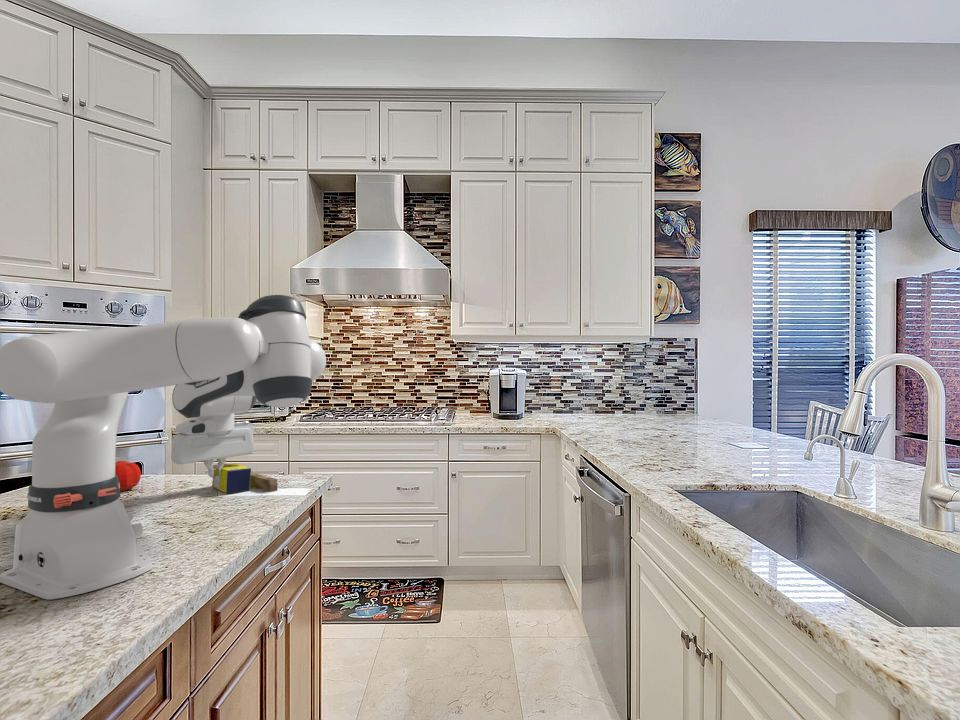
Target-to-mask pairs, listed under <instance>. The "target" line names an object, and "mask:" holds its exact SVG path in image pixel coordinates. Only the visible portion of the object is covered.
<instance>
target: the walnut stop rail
mask: <svg viewBox="0 0 960 720" xmlns="http://www.w3.org/2000/svg"><path fill="white" fill-rule="evenodd" d="M250 488H256V489H259V490H263V491H265V492H270V493H271V492H275V491H278V478H274V477H270V476H266V475H262V474H258V473H254V472H251V475H250Z"/></svg>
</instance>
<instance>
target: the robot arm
mask: <svg viewBox="0 0 960 720" xmlns="http://www.w3.org/2000/svg"><path fill="white" fill-rule="evenodd" d="M306 314H307V313H306V312H305V309H304V307H303V304H302V303H301V301H299V300H298V299H296V298H294V297H293V296H290V295H286V294H285V295H284V294H270V295H265V296H261V297H259V298H257V299H256V300H254V301H253V302H251V303H250V304H249V305H248V306H247V307H246V309H244V310H242V311H241V312H240V313H239V315H238V317H230V316H217V317H215V316H213V317H212V316H211V317H210V316H209V317H196V318H188V319H181V320H173V321H167V322H160V323H153V324H146V325H139V326H138V325H137V326H128V327H113V328H112V327H111V328H98V329H89V330H88V329H87V330H76V331H75V330H74V331H69V332H57V333H56V332H55V333H47V334H40V335H32V336H26V337H21V338H17V339H14V340H11V341H10V340H9V342H6V343H5V344H4V345H2V346H1V347H0V392H2V393H3V394H4V395H6V396H7V397H10V398H12V399H16V400H20V401H26V402H31V403H38V404H40V403H42V404H54V406H53V408H52V411H51V413H50V416H49V417H48V419H47V421H46V422H45V424H44V425H43V426H42V427H40V429H39V430H38V431H37V432H36V434H35V436H34V437H33V440H32V446H31V447H32V451H31V453H32V454H31V455H32V457H31V459H32V460H31V461H32V462H31V466H32V468H31V472H32V473H31V484H30V485H29V486H28V493H27V495H26V496H27V498H26V499H27V508H29V511H28V512H27V514H26V516H24V517H23V519H22V520H20V521H19V522H18V523H16V526H15V532H14V533H15V534H14V547H13V560H12V561H13V562H12V568H10V569H8V570H6V571H4V572H1V573H0V583H1V584H4V585H6V586H8V587H11V588H14V589H17V590H19V591H21V592H24V593H28V594H30V595H33V596H36V597H38V598H41V599H44V600H57V599H63V598H68V597H73V596H77V595H82V594H86V593H88V592H93V591H97V590H100V589H102V588H106V587H111V586H113V585H115V584H118V583H122V582H125V581H127V580H130V579H133V578H136V577H138V576H140V575H143V574H144V573H146V572H148V571H150V570H152V569H153V562H152V560H151V559H150V557H149V556H148V554H147V552H146V551H145V550H144V548H143V546H142V545H141V544H140V542H139V540H137V539H136V538H139V537H141V536H143V524H142V522H138V523H134V524H132V523H131V521H133V517H134V516H133V513H132V512H127V510H126V508H125V502H124V503H123V502H122V501H121V500H120V499H119V498H121V492H120V489H119V488H120V484H119V481H118V476H117V475H115V461H116V451H117V434H118V428H119V423H120V419H121V415H122V412H123V409H124V405H125V402H126V400H127V398H128V397H127V396H128V395H129V393H132V392H138V391H145V390H152V389H158V388H164V387H171V386H174V387H173V390H172V394H171V395H172V397H171V398H172V399H171V401H172V404H173V408H174V409H175V411H177V412H178V413H179V414H181V415H182V416H183V417H185V418H186V419H189V420H186V421H183V422H180V423H178V424H176V425H175V432H176V433H177V434H175V436H174V437H173V439H172V443H171V444H172V445H171V452H170V457H171V459H170V460H171V461H172V462H173V463H174V464H176V465H186V464H193V463H200V462H203V464H204V466H205V467H206V469H207V470H208V471H207V474H208V477H210V478H213V476H219V475H221V469H222V467H223V465H224V464H226V460H227V458H233V457H234V458H235V457H239V456H245V455H246V456H249V455H252V454H253V452H254V451H255V440H254V439H255V438H254V424H253V423H252V422H250V421H248V420H243V421H235V415H237V414H243V413H248V412H249V411H250V410H251V409H252V408H253V407H254V405H255V404H256V402H257V401H258V402H259V403H261V405H264V406H266V407H267V406H268V407H273V408H278V409H280V408H283V409H284V408H290V407H292V406H293V407H294V406H295V405H297V404H300V403H302V402H304V401H306V399H308V397H309V396H310V394H311V391H312V386H313V383H314V381H316V380H317V379H318V378H319V377H320V376H321V375H322V374H323V372H324V371H325V369H326V366H327V357H326V353H325V351H324V349H323V347H322V346H321V345H320V344H319V343H318V342H316V341H314V340H312V339H311V338H310V333H309V331H308V327H307V326H308V325H307V321H306V320H307V315H306ZM214 460H216V462H217V463H216V465H217V466H216V468H214V469H213V465H214Z"/></svg>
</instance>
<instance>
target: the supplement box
mask: <svg viewBox="0 0 960 720" xmlns="http://www.w3.org/2000/svg"><path fill="white" fill-rule="evenodd" d="M216 466H217V464H212V467H213V469H214V468H216ZM251 473H252V468H250V467H247V466H244V465H241V464H240V463H239V464H238V463H235V462H234V463H232V462H231V463H225V464H224V465H223V467H222V469H221V475H219V476H213V477H212V483H211V487H212V488H215V489H216V490H218V491H221V492H223V493H226V494H232V493H233V494H234V493H240V492H249V491H250V490H251V486H250V475H251Z"/></svg>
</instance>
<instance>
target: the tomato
mask: <svg viewBox="0 0 960 720" xmlns="http://www.w3.org/2000/svg"><path fill="white" fill-rule="evenodd" d="M115 475H117V476H118V481H119V484H120V488H119V489H120V493H121V492H123V491H127V490H131V489H133V488H135V487H136V486H137V485H138V484H139V483H140V481H141V478H142V472H141V468H140V466H139V465H138V464H136V463H134V462H131V461H130V462H129V461H126V460H117V461H116V460H115Z"/></svg>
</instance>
